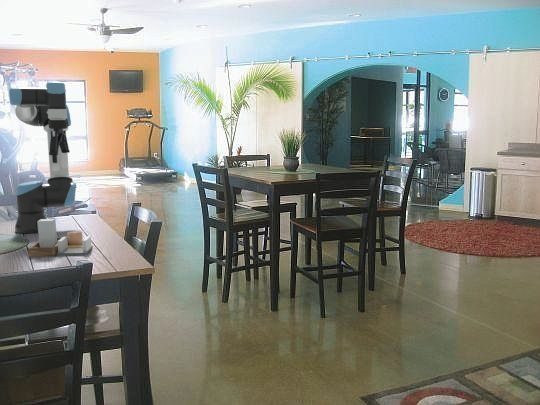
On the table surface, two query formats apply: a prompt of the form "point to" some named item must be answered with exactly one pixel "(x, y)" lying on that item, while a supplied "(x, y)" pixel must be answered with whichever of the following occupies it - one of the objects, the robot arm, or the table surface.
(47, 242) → the skincare box
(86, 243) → the checker cradle
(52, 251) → the trough
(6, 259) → the table surface
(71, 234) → the wooden block
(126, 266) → the table surface
